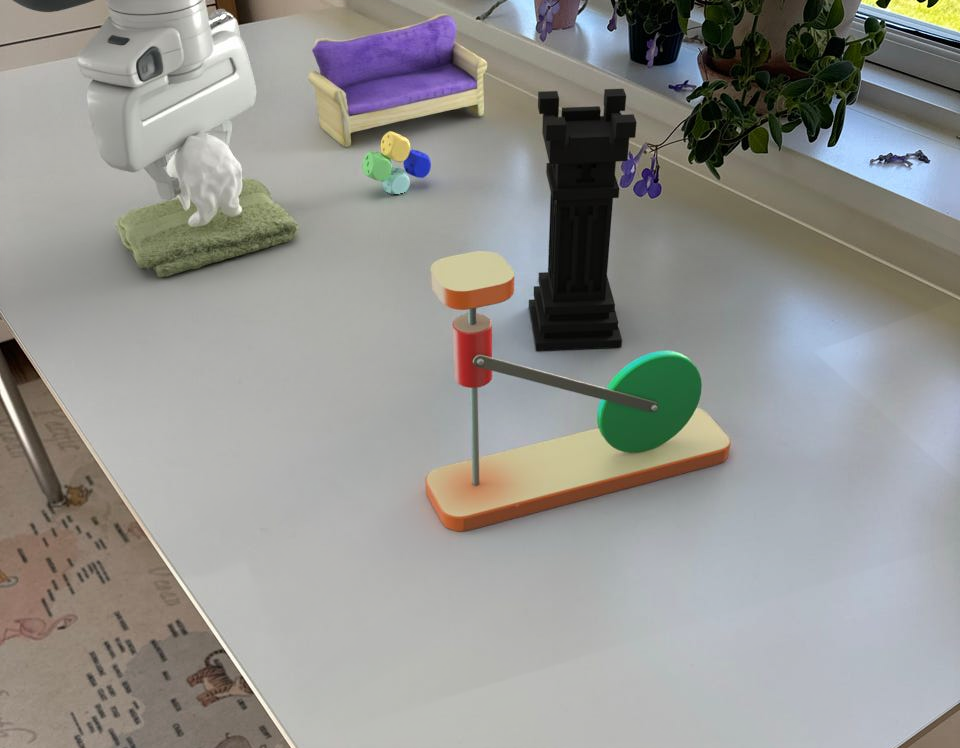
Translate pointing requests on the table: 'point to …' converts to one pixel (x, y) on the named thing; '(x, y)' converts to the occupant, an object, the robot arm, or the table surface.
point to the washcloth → (204, 231)
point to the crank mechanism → (574, 458)
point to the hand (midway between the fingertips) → (195, 181)
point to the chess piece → (580, 223)
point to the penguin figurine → (207, 177)
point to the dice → (398, 151)
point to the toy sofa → (394, 77)
